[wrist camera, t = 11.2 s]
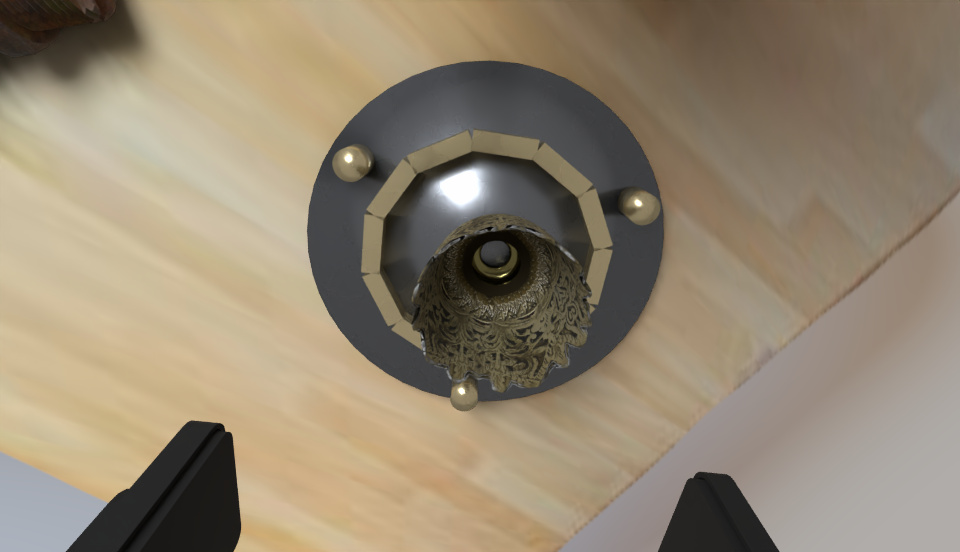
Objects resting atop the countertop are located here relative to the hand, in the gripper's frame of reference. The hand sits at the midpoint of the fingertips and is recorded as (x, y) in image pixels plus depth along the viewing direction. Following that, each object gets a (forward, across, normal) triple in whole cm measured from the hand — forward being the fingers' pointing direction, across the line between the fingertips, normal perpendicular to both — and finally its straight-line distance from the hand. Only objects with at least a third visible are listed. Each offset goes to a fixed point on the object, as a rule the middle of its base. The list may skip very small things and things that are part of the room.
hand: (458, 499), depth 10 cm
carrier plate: (+19, -1, +1) cm, 19 cm away
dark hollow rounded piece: (+18, -2, +1) cm, 18 cm away
